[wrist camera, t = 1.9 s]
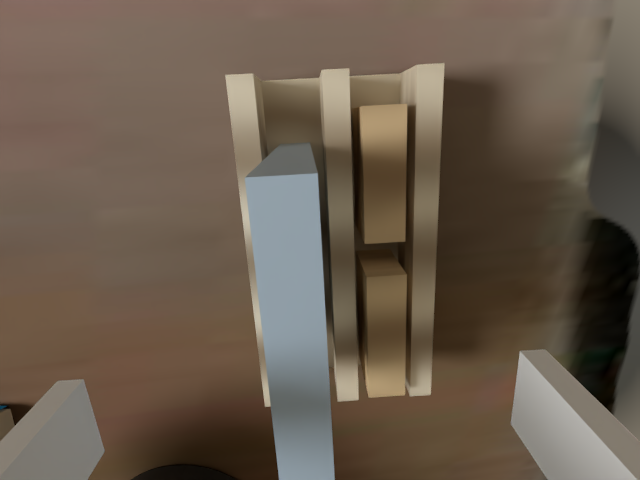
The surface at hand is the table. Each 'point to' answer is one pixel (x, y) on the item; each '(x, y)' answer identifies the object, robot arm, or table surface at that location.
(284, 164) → the pale blue panel
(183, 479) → the robot arm
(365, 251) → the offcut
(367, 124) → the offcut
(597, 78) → the table surface
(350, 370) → the rack
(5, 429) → the book
